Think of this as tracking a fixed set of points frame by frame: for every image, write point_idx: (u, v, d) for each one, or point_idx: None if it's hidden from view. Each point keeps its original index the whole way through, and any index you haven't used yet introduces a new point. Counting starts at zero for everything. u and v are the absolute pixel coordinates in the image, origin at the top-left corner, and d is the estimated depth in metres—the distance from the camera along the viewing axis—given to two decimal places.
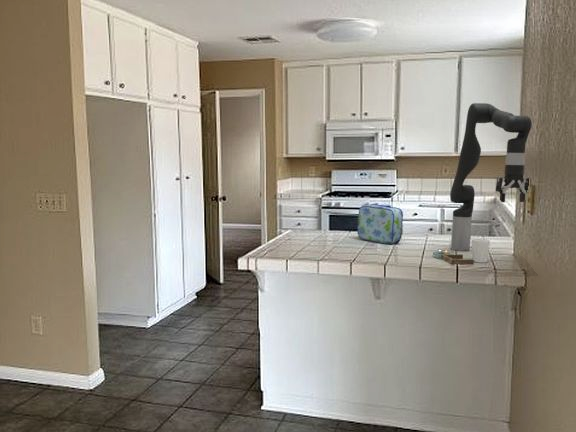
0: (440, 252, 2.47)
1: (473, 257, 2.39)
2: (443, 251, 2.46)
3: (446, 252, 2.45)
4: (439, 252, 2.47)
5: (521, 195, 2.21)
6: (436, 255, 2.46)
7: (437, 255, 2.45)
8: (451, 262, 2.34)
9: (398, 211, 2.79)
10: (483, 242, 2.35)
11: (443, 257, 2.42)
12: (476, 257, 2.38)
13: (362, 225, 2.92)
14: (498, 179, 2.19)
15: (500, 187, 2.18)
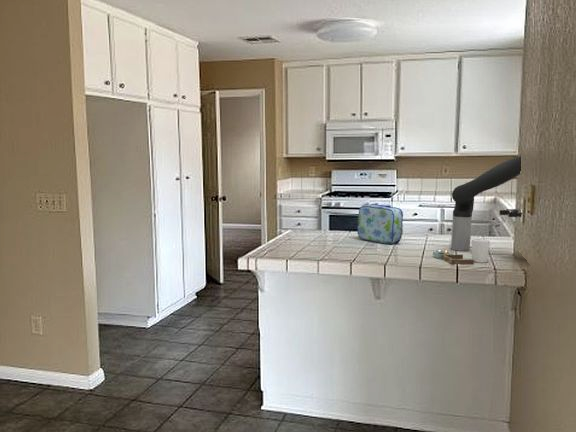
0: (439, 253, 2.47)
1: (473, 257, 2.39)
2: (443, 251, 2.46)
3: (446, 252, 2.45)
4: (439, 253, 2.47)
5: (506, 213, 2.43)
6: (436, 255, 2.46)
7: (437, 255, 2.45)
8: (451, 262, 2.34)
9: (398, 211, 2.79)
10: (483, 242, 2.35)
11: (443, 257, 2.42)
12: (476, 257, 2.38)
13: (362, 225, 2.92)
14: None
15: None
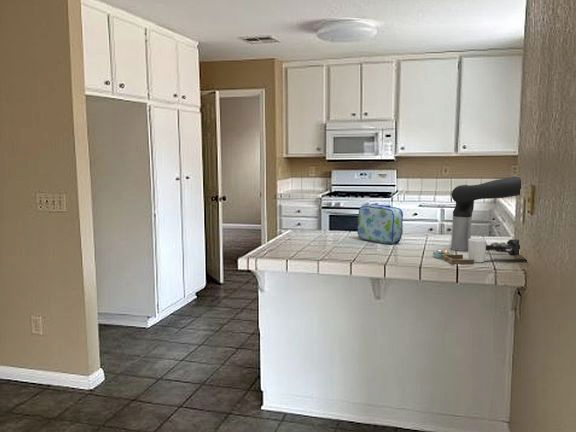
0: (440, 253, 2.47)
1: (470, 257, 2.39)
2: (443, 251, 2.46)
3: (446, 252, 2.45)
4: (439, 253, 2.47)
5: None
6: (436, 255, 2.46)
7: (437, 255, 2.45)
8: (451, 262, 2.34)
9: (398, 211, 2.79)
10: (479, 242, 2.35)
11: (443, 257, 2.42)
12: (473, 256, 2.38)
13: (362, 225, 2.92)
14: (508, 249, 2.35)
15: None
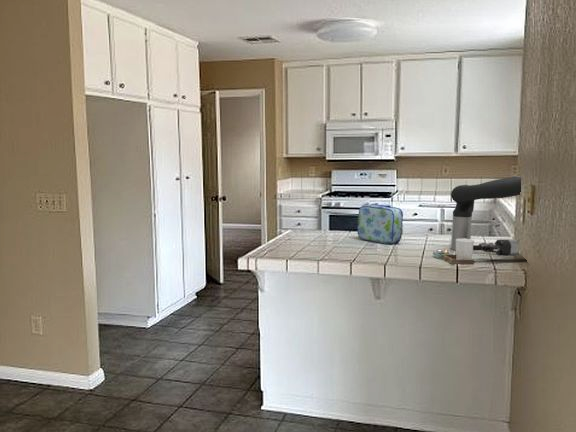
0: (440, 252, 2.47)
1: (457, 257, 2.39)
2: (443, 251, 2.46)
3: (446, 252, 2.45)
4: (439, 253, 2.47)
5: None
6: (436, 255, 2.46)
7: (437, 255, 2.45)
8: (451, 262, 2.34)
9: (398, 211, 2.79)
10: (466, 242, 2.35)
11: (443, 257, 2.42)
12: (459, 257, 2.37)
13: (362, 225, 2.92)
14: (495, 250, 2.34)
15: None
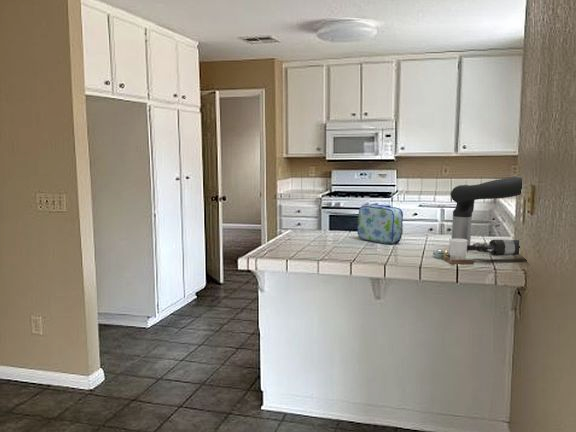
0: (440, 252, 2.47)
1: (451, 257, 2.39)
2: (443, 251, 2.46)
3: (446, 252, 2.45)
4: (439, 253, 2.47)
5: None
6: (436, 255, 2.46)
7: (437, 255, 2.45)
8: (451, 262, 2.34)
9: (398, 211, 2.79)
10: (460, 242, 2.34)
11: (443, 257, 2.42)
12: (453, 257, 2.37)
13: (362, 225, 2.92)
14: (489, 250, 2.34)
15: None
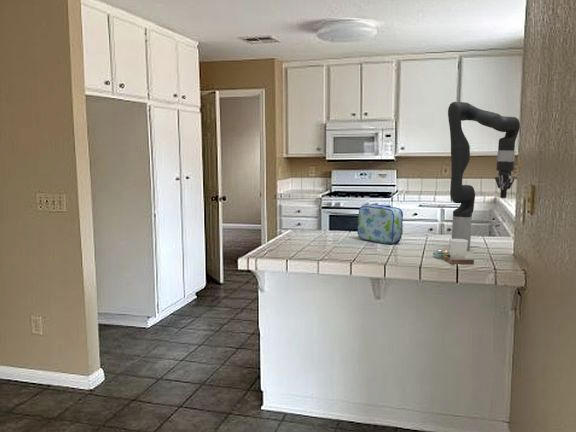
0: (440, 252, 2.47)
1: (451, 257, 2.39)
2: (443, 251, 2.46)
3: (446, 252, 2.45)
4: (439, 252, 2.47)
5: None
6: (436, 255, 2.46)
7: (437, 255, 2.45)
8: (451, 262, 2.34)
9: (398, 211, 2.79)
10: (460, 242, 2.34)
11: (443, 257, 2.42)
12: (453, 257, 2.37)
13: (362, 225, 2.92)
14: (511, 181, 2.35)
15: None
